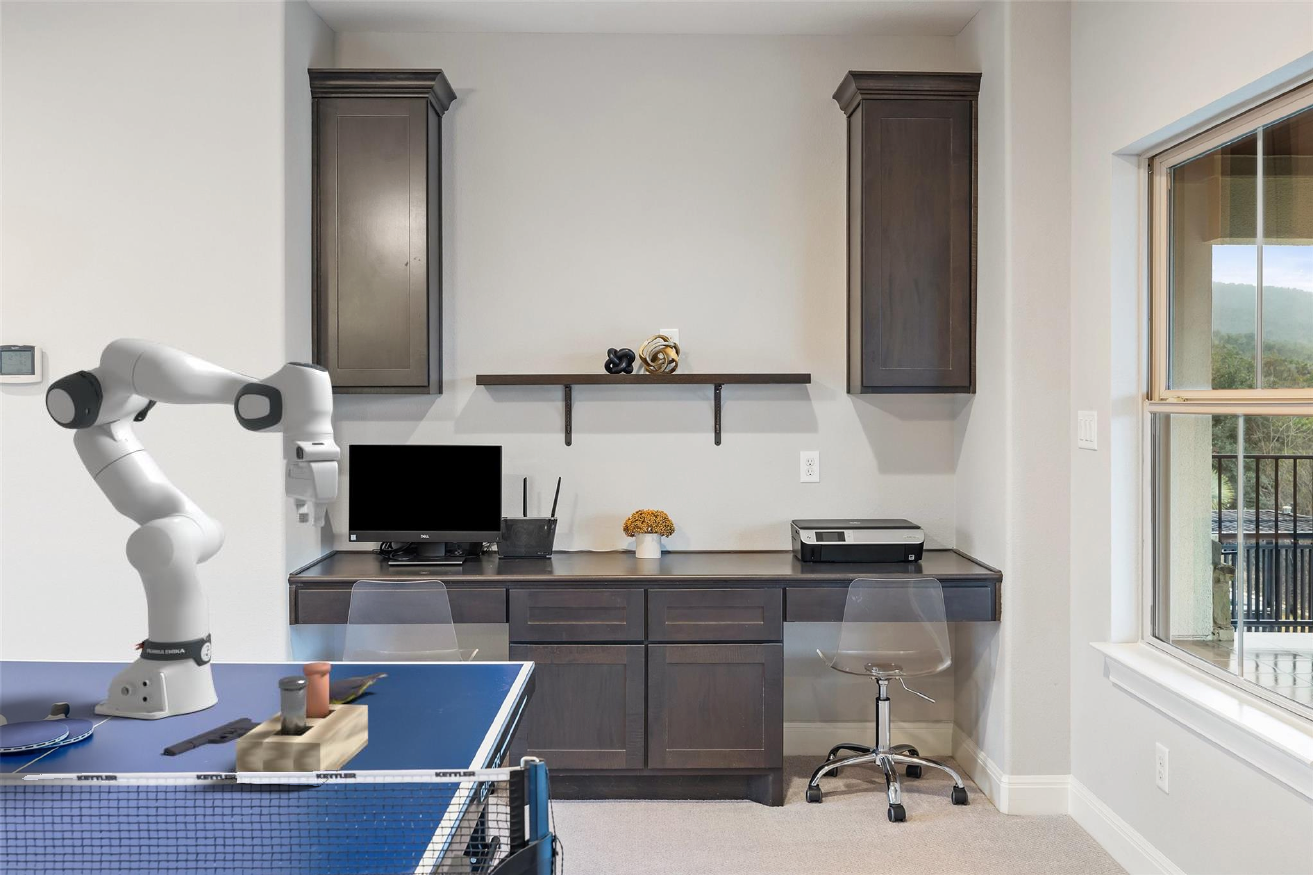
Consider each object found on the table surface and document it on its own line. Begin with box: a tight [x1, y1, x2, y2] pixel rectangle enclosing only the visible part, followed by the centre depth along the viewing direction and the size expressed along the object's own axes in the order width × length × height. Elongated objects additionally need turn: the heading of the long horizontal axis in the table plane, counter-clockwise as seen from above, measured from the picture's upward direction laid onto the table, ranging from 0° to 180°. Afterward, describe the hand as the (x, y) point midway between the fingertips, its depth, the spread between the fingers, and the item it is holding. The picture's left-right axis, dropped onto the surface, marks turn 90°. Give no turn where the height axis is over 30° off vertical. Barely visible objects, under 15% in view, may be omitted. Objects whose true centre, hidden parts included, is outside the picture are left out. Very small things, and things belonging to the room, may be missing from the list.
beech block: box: [235, 704, 369, 773], centre depth 161 cm, size 14×20×7 cm
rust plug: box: [302, 661, 332, 719], centre depth 166 cm, size 5×5×10 cm
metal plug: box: [277, 675, 308, 736], centre depth 157 cm, size 5×5×10 cm
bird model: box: [329, 672, 389, 705], centre depth 196 cm, size 5×20×5 cm, turn 144°
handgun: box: [163, 717, 263, 757], centre depth 172 cm, size 18×2×12 cm
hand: (310, 524), depth 175 cm, fingers open, 8 cm apart
